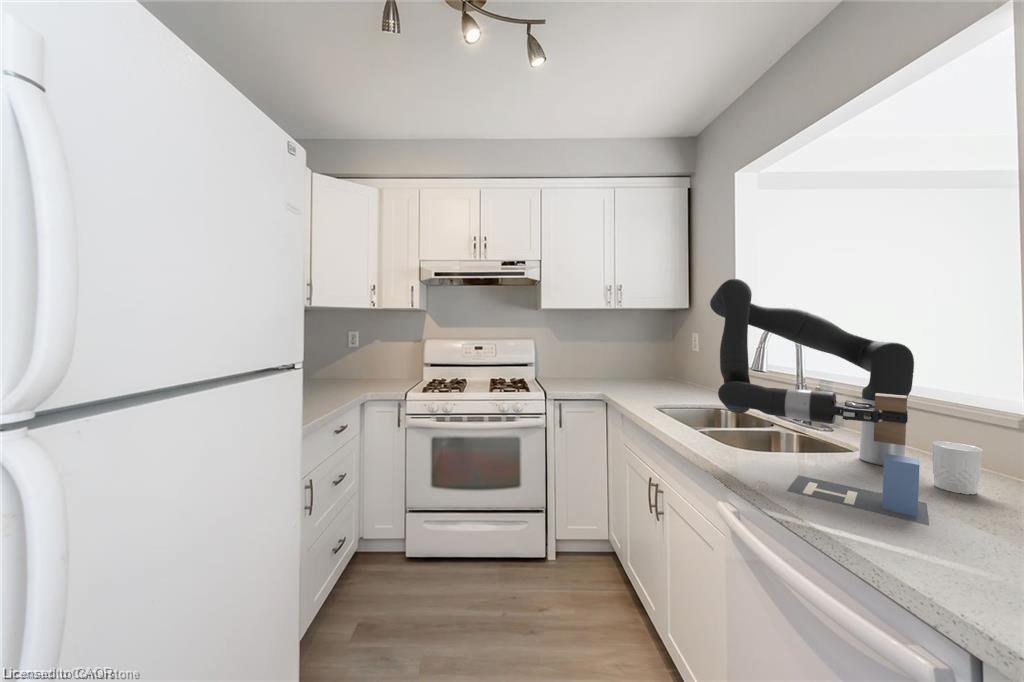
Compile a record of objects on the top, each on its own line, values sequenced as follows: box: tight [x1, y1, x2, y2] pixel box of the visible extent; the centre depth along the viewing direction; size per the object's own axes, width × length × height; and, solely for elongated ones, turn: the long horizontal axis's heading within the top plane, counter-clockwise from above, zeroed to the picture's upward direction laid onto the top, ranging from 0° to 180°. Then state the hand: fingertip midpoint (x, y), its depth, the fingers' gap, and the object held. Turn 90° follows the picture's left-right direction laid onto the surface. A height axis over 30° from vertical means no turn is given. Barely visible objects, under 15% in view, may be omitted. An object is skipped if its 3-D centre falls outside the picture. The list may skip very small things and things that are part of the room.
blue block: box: [882, 454, 921, 517], centre depth 81 cm, size 5×5×10 cm
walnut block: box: [874, 393, 908, 447], centre depth 89 cm, size 5×5×10 cm
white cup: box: [931, 440, 984, 496], centre depth 94 cm, size 8×8×10 cm
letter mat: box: [786, 475, 930, 526], centre depth 87 cm, size 14×22×1 cm, turn 46°
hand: (906, 416), depth 87 cm, fingers closed on walnut block, 5 cm apart
